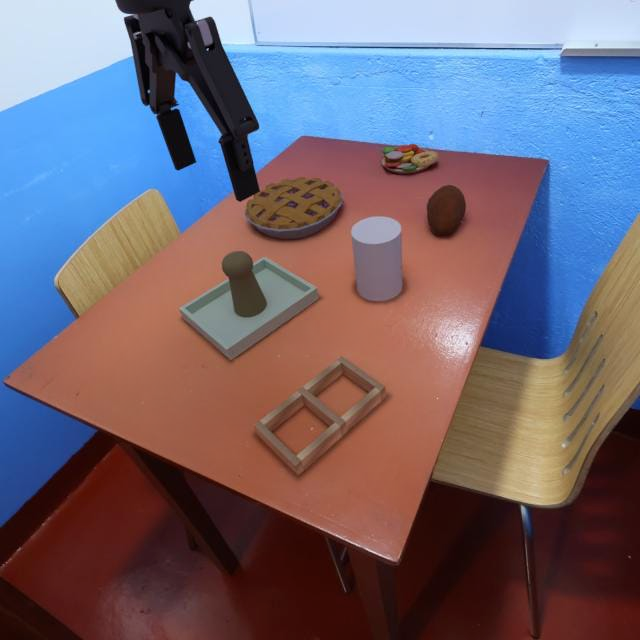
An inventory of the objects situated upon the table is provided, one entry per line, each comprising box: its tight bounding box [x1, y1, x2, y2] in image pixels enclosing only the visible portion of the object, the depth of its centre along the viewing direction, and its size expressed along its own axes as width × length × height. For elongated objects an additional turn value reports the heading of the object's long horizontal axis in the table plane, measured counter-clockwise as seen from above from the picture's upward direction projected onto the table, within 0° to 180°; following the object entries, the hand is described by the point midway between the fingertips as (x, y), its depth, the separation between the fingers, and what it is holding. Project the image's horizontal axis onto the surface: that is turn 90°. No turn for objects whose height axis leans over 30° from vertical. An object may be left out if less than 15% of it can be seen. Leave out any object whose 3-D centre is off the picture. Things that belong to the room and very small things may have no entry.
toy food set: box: [381, 143, 440, 175], centre depth 117 cm, size 13×13×3 cm
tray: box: [178, 256, 320, 361], centre depth 84 cm, size 20×16×3 cm
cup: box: [350, 215, 403, 302], centre depth 81 cm, size 8×8×12 cm
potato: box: [426, 184, 467, 236], centre depth 94 cm, size 8×12×8 cm, turn 160°
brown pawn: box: [221, 250, 267, 317], centre depth 81 cm, size 6×6×11 cm
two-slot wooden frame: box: [253, 355, 387, 477], centre depth 65 cm, size 17×9×2 cm, turn 133°
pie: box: [244, 176, 344, 240], centre depth 105 cm, size 22×22×5 cm
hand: (214, 180), depth 55 cm, fingers open, 13 cm apart
